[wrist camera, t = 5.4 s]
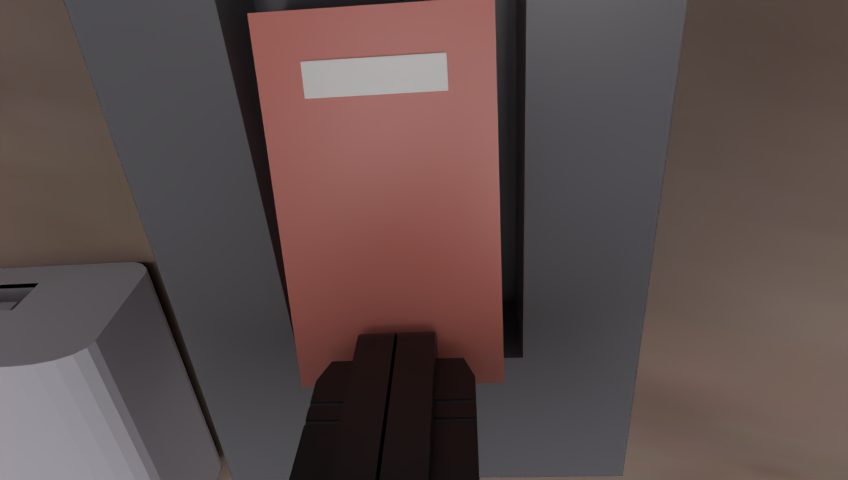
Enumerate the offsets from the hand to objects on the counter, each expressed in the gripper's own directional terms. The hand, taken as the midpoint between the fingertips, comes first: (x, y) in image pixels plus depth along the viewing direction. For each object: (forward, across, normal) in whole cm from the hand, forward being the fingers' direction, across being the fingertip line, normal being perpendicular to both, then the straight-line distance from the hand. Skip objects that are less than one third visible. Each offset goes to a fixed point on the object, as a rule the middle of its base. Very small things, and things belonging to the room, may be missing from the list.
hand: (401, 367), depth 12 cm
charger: (+7, +13, +9) cm, 17 cm away
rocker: (+1, 0, -3) cm, 3 cm away
